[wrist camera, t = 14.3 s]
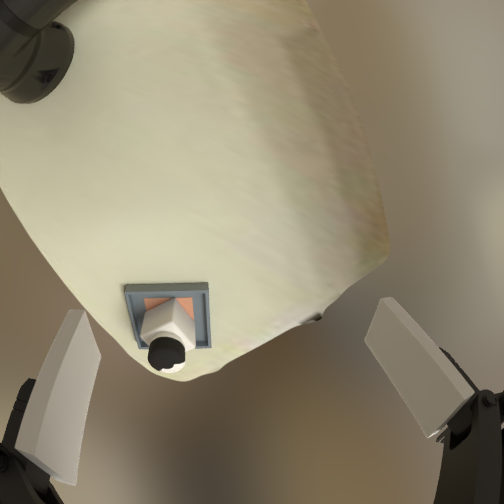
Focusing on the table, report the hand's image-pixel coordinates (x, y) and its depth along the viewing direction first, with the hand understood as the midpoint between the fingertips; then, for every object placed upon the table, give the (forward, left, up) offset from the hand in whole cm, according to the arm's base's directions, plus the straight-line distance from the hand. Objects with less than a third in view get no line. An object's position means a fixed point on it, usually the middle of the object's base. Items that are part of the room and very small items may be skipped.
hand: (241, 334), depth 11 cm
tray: (+25, -8, -34) cm, 43 cm away
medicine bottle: (+25, -8, -33) cm, 42 cm away
